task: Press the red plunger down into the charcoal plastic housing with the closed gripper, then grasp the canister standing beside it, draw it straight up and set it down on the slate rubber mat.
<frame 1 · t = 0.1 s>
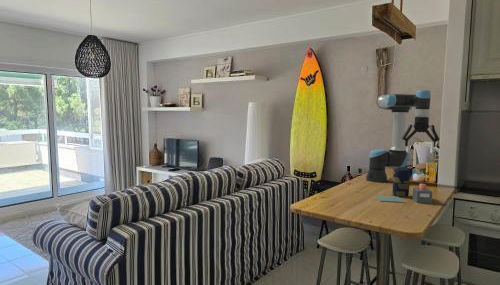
hand: (419, 152, 203), 28 cm above the breakfast bar, fingers open, 13 cm apart
plunger: (422, 190, 198), point 6 cm above the breakfast bar, slide at 0.0 cm
housing: (421, 201, 199), on the breakfast bar
canister: (400, 196, 211), on the breakfast bar
mat: (389, 199, 201), on the breakfast bar
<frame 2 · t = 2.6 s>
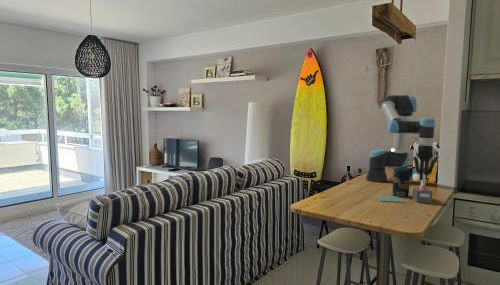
hand: (422, 185, 198), 9 cm above the breakfast bar, fingers closed
plunger: (422, 191, 198), point 6 cm above the breakfast bar, slide at -0.9 cm, touching gripper
everything else where it was.
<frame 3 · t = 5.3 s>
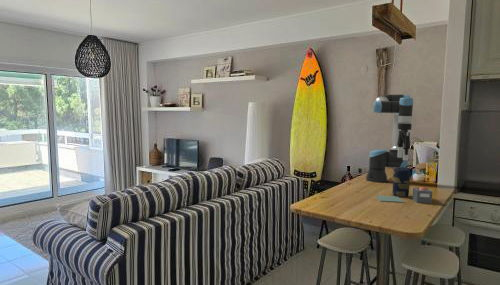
hand: (402, 158, 209), 23 cm above the breakfast bar, fingers open, 11 cm apart
plunger: (422, 193, 198), point 5 cm above the breakfast bar, slide at -2.0 cm
everything else where it was.
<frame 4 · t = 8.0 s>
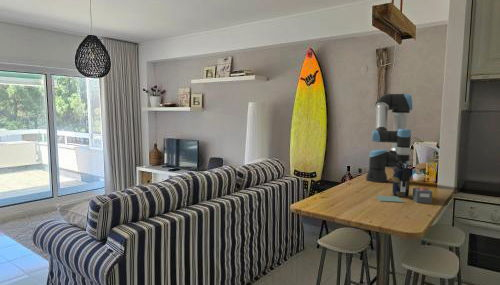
hand: (400, 189, 210), 4 cm above the breakfast bar, fingers closed on canister, 9 cm apart
canister: (400, 195, 211), on the breakfast bar, touching gripper
everything else where it was.
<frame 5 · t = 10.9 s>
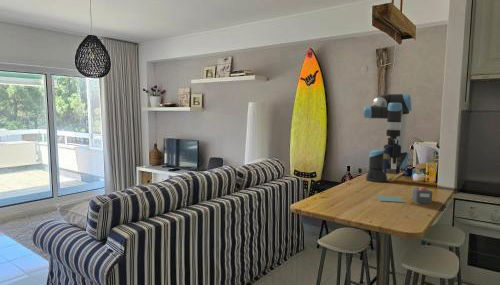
hand: (391, 167, 200), 19 cm above the breakfast bar, fingers closed on canister, 9 cm apart
canister: (390, 173, 200), point 15 cm above the breakfast bar, touching gripper
everything else where it was.
when the fingers open (6 cm above the breakfast bar, at t = 13.8 s): canister drops 1 cm, resting on mat.
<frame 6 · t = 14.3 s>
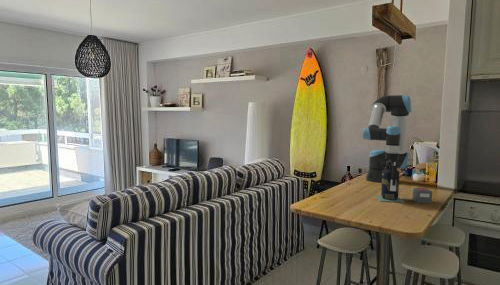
hand: (390, 188, 201), 7 cm above the breakfast bar, fingers open, 13 cm apart
canister: (389, 198, 202), resting on mat
everything else where it was.
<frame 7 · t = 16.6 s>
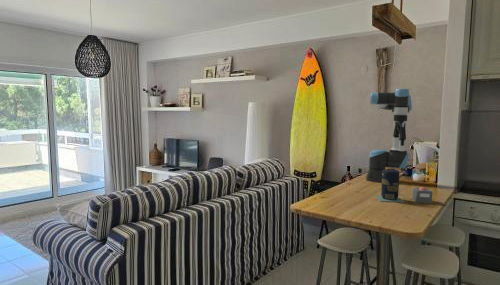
hand: (398, 149, 207), 29 cm above the breakfast bar, fingers open, 13 cm apart
nothing on the breakfast bar moved.
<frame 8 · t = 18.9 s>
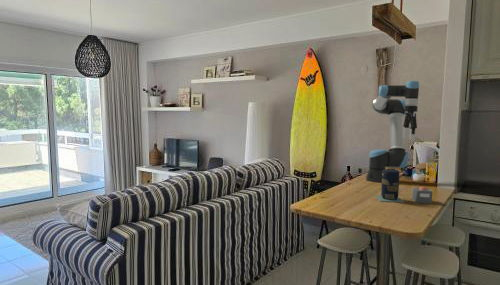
hand: (409, 138, 220), 35 cm above the breakfast bar, fingers open, 13 cm apart
nothing on the breakfast bar moved.
at the end: plunger slide at -2.0 cm; canister inside the target area on the mat (0.3 cm from its centre), point 0.3 cm above the mat's base; canister tilted 0° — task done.
